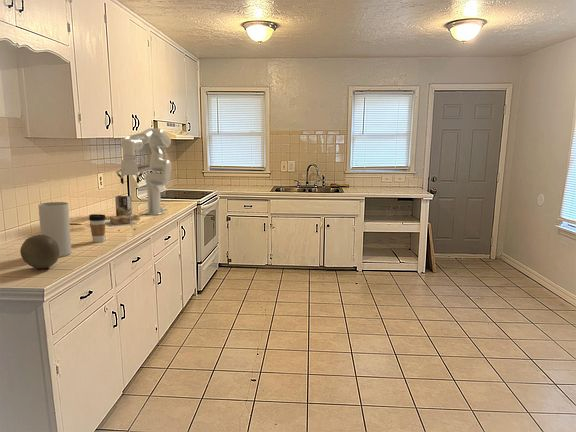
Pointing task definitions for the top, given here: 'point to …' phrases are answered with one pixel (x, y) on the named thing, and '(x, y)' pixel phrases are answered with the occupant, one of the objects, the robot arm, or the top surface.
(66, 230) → the cylinder vase
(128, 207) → the coffee box
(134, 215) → the oak cube
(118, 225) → the board
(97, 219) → the coffee cup
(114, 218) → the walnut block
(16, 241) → the top surface
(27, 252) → the cantaloupe
